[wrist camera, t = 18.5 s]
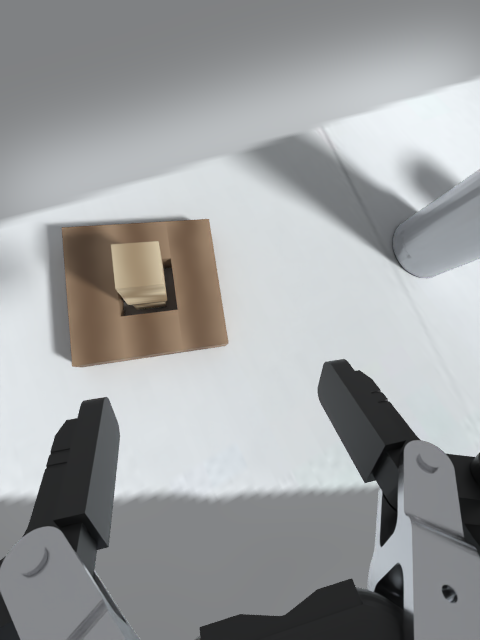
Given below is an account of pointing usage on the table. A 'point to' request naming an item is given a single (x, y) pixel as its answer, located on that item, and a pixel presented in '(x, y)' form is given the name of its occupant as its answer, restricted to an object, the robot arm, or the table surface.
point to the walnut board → (108, 306)
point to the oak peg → (139, 274)
